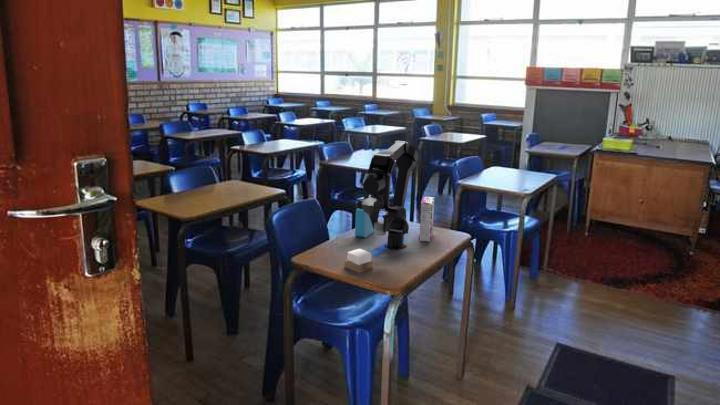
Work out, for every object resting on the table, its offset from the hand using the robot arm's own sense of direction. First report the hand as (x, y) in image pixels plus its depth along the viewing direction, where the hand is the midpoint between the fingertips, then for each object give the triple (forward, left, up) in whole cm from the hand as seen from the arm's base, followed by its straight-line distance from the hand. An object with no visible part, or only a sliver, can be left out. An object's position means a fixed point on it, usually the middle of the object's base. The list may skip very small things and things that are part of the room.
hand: (379, 231), depth 193 cm
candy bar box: (-35, -3, -12) cm, 37 cm away
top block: (+10, 0, -9) cm, 14 cm away
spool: (0, 0, -1) cm, 1 cm away
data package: (-20, -24, -12) cm, 33 cm away
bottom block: (+10, -1, -12) cm, 16 cm away
